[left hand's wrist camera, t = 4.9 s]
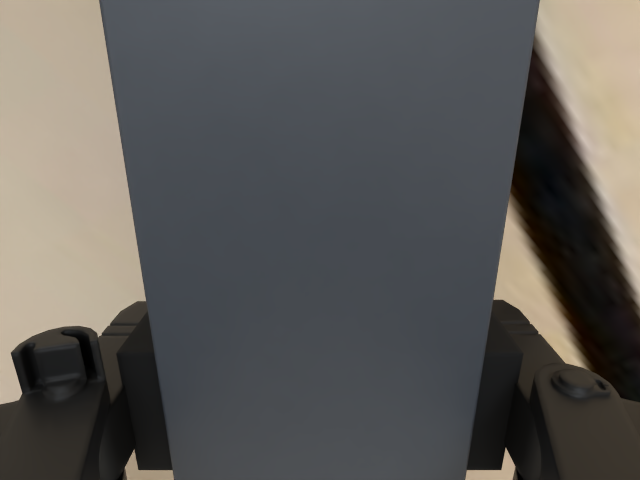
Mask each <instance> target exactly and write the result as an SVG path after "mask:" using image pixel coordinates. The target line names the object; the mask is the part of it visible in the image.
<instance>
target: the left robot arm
mask: <svg viewBox="0 0 640 480" xmlns="http://www.w3.org/2000/svg"><path fill="white" fill-rule="evenodd" d="M11 356H12V359H13V362H14V366H15V369H16V373H17V376H18V380H19V383H20V386H21V390H22V395H21V397H20V399H19V400H18V401H15V402H11V403H6V404H1V405H0V480H127V476H126V471H125V466H126V464H127V462H128V460H129V458H130V456H131V454H132V452H133V450H134V449H135V454H136V459H137V465H138V470H173V468H172V462H171V456H170V449H169V443H168V436H167V430H166V424H165V417H164V411H163V405H162V398H161V392H160V385H159V379H158V373H157V366H156V360H155V353H154V347H153V341H152V334H151V328H150V321H149V315H148V309H147V302H146V301H137V302H136V303H134V304H132V305H131V306H129V307H127V308H126V309H124V310H122V311H121V312H120V313H119V314H118V315H117V316H116V317H115V319H114V320H113V321H112V322H111V323H110V326H108V327H107V328H106V329H105V330H104V331H103V333H102V336H99V337H98V336H97V333H96V332H95V331H93V330H92V329H91V328H87V327H82V326H69V327H61V328H56V329H52V330H48V331H45V332H43V333H40V334H37V335H35V336H32V337H31V338H29V339H27V340H26V341H24V342H22V343H21V344H19V345H18V346H17V347H16V348H15V349H14V350H13V351H12V352H11ZM505 448H507V450H508V452H509V454H510V456H511V458H512V460H513V462H514V464H515V466H516V467H515V471H514V476H513V480H640V403H639V402H634V401H630V400H625V399H622V398H620V397H619V395H618V393H617V391H616V390H615V389H614V388H613V387H612V385H611V384H610V383H609V382H607V381H606V380H605V379H603V378H602V377H600V376H599V375H597V374H595V373H593V372H591V371H589V370H586V369H584V368H582V367H578V366H574V365H570V364H566V363H565V362H564V361H563V360H562V359H561V358H560V356H559V355H558V354H557V353H556V352H555V351H554V350H553V348H552V347H551V346H550V345H549V344H548V343H547V341H546V340H545V339H544V338H543V337H542V336H541V334H538V331H537V330H536V329H535V327H534V326H533V325H532V324H530V322H529V320H528V319H527V318H526V317H525V316H524V315H523V314H522V312H521V311H520V310H519V309H517V308H515V307H514V306H512V305H510V304H509V303H507V302H505V301H504V300H493V304H492V310H491V317H490V323H489V330H488V336H487V342H486V349H485V355H484V362H483V368H482V375H481V381H480V387H479V394H478V400H477V407H476V413H475V420H474V426H473V432H472V439H471V445H470V452H469V458H468V465H467V470H501V468H502V463H503V458H504V453H505Z"/></svg>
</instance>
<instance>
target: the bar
mask: <svg viewBox="0 0 640 480" xmlns="http://www.w3.org/2000/svg"><path fill="white" fill-rule="evenodd" d="M99 2H100V8H101V15H102V21H103V28H104V34H105V40H106V47H107V53H108V60H109V66H110V72H111V79H112V85H113V91H114V98H115V104H116V111H117V117H118V123H119V130H120V136H121V143H122V149H123V155H124V162H125V168H126V175H127V181H128V187H129V194H130V200H131V206H132V213H133V219H134V226H135V232H136V238H137V245H138V251H139V258H140V264H141V270H142V277H143V283H144V290H145V296H146V302H147V309H148V315H149V321H150V328H151V334H152V341H153V347H154V353H155V360H156V366H157V373H158V379H159V385H160V392H161V398H162V405H163V411H164V417H165V424H166V430H167V436H168V443H169V449H170V456H171V462H172V468H173V475H174V480H465V477H466V471H467V465H468V458H469V452H470V445H471V439H472V432H473V426H474V420H475V413H476V407H477V400H478V394H479V387H480V381H481V375H482V368H483V362H484V355H485V349H486V342H487V336H488V330H489V323H490V317H491V310H492V304H493V297H494V291H495V285H496V278H497V272H498V265H499V259H500V252H501V246H502V240H503V233H504V227H505V220H506V214H507V207H508V201H509V195H510V188H511V182H512V175H513V169H514V162H515V156H516V150H517V143H518V137H519V130H520V124H521V117H522V111H523V105H524V98H525V92H526V85H527V79H528V72H529V66H530V60H531V53H532V47H533V40H534V34H535V28H536V21H537V15H538V8H539V2H540V0H99Z"/></svg>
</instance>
